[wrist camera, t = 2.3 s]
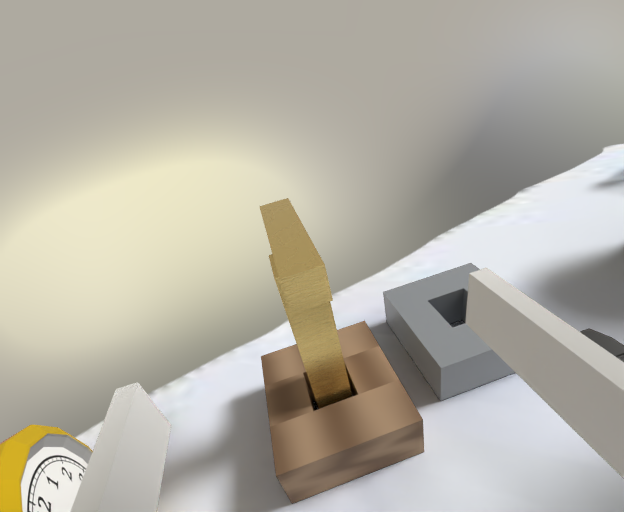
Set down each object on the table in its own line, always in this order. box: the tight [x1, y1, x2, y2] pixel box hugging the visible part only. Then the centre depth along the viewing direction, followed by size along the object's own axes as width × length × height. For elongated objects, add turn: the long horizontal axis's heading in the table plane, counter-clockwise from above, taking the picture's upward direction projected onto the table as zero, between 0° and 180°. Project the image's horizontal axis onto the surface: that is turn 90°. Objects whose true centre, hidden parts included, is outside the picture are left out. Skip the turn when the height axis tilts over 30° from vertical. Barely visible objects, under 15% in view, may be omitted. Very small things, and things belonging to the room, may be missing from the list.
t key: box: [260, 198, 352, 409], centre depth 26 cm, size 3×11×21 cm, turn 14°
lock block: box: [261, 321, 424, 504], centre depth 30 cm, size 12×12×5 cm
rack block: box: [383, 263, 516, 401], centre depth 35 cm, size 12×12×5 cm
